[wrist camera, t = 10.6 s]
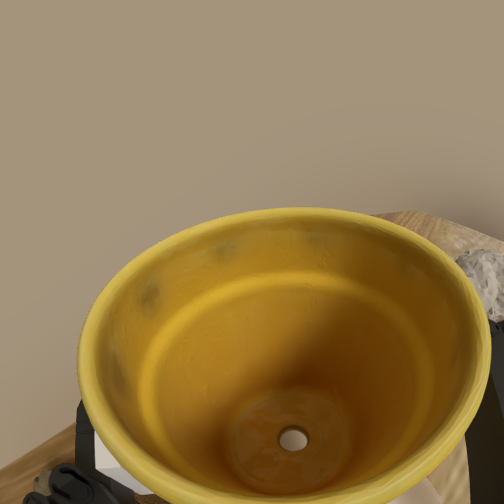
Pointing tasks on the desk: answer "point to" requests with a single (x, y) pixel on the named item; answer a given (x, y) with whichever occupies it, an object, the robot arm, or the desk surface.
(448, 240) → the desk surface
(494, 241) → the desk surface
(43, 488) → the stone block
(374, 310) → the plant pot
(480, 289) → the mineral
